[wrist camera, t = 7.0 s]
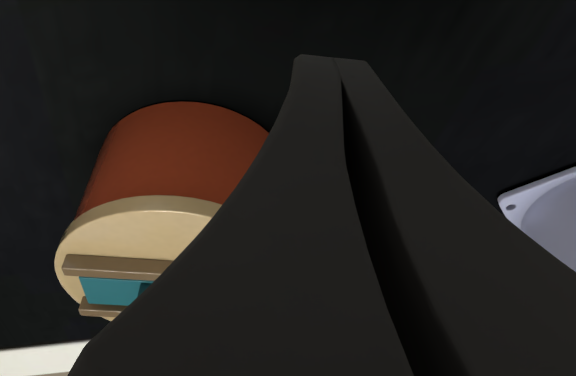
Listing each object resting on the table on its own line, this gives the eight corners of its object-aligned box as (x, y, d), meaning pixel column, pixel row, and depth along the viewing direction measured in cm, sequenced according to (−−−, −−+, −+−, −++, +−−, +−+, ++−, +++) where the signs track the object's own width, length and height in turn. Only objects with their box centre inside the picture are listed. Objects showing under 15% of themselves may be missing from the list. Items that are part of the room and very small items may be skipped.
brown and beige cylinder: (307, 108, 22) (313, 236, 17) (282, 238, 30) (281, 355, 25) (78, 86, 22) (14, 215, 16) (113, 227, 29) (76, 345, 24)
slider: (158, 274, 20) (147, 327, 19) (162, 300, 22) (152, 350, 20) (80, 269, 20) (62, 322, 18) (90, 295, 22) (74, 347, 20)
